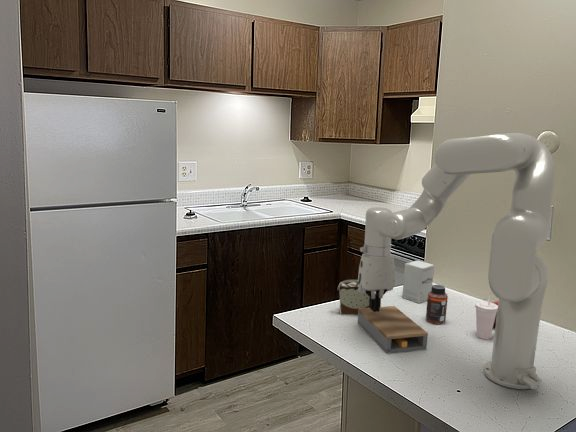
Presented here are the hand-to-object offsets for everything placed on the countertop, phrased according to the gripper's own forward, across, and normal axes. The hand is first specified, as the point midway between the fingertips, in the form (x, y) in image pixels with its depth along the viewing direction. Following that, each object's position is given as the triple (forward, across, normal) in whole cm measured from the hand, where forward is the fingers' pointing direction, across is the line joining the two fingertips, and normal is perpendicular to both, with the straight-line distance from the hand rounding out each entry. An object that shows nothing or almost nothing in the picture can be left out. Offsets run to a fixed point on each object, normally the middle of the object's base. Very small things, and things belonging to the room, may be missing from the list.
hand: (374, 310), depth 153 cm
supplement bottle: (+6, +22, +2) cm, 23 cm away
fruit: (+7, +40, -6) cm, 41 cm away
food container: (+6, 0, +14) cm, 15 cm away
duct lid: (+2, +3, -6) cm, 6 cm away
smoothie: (+7, +30, -12) cm, 33 cm away
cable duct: (+6, +3, -6) cm, 9 cm away
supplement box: (+6, +26, +20) cm, 33 cm away
